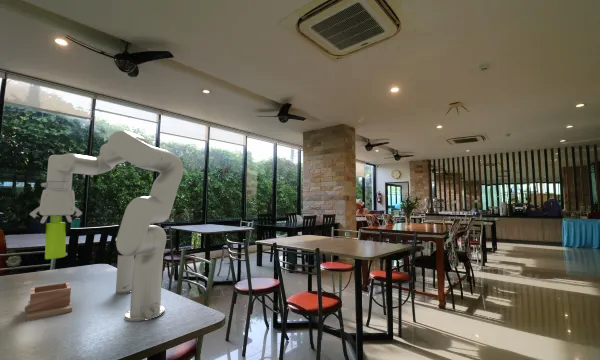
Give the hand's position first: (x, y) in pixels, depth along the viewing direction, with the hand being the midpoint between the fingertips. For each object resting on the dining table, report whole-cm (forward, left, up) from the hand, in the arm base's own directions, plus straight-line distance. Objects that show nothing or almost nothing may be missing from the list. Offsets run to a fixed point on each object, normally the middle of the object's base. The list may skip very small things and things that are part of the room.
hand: (55, 232), depth 107 cm
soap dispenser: (0, 0, -10) cm, 10 cm away
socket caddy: (0, 0, -28) cm, 28 cm away
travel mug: (+3, -25, -28) cm, 38 cm away
